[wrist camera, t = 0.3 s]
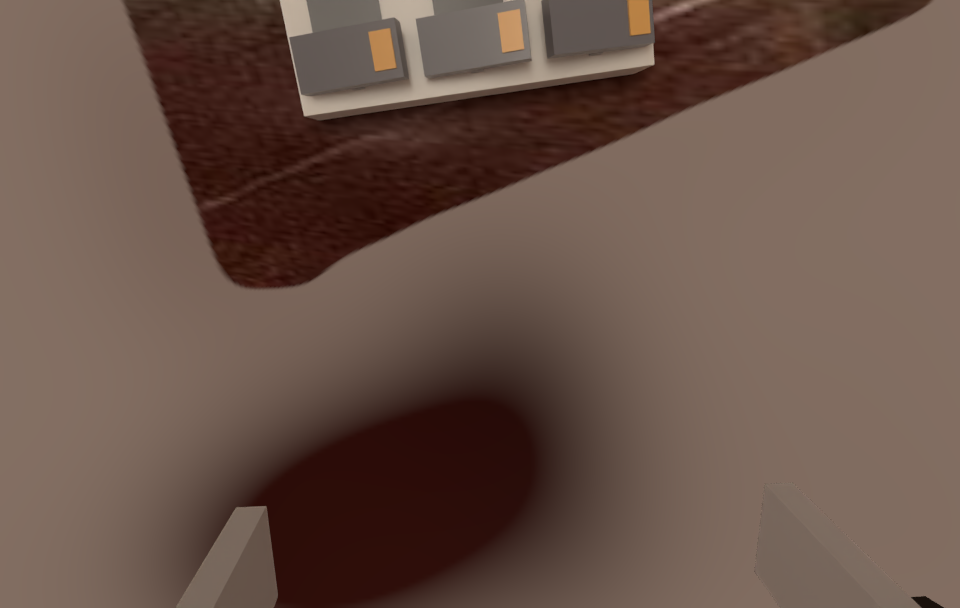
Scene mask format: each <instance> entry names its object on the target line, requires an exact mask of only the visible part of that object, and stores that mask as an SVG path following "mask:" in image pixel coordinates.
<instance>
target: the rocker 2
mask: <svg viewBox="0 0 960 608" xmlns="http://www.w3.org/2000/svg"><path fill="white" fill-rule="evenodd" d="M416 25H417V31H418V37H419V44H420V50H421V56H422V63H423V69H424V75H425V77H427V78H429V79H431V78H436V77H442V76H448V75H454V74H460V73H466V72H471V71H477V70H483V69H489V68H495V67H500V66H506V65H512V64H518V63H524V62H530V61H532V57H531V49H530V40H529V31H528V22H527V13H526V4H525V0H513V1H507V2H502V3H497V4H491V5H486V6H481V7H476V8H470V9H465V10H460V11H455V12H449V13H444V14H439V15H433V16H428V17H423V18H418V19H416Z"/></svg>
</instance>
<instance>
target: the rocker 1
mask: <svg viewBox="0 0 960 608" xmlns="http://www.w3.org/2000/svg"><path fill="white" fill-rule="evenodd" d="M289 39H290V44H291V49H292V53H293V58H294V63H295V68H296V72H297V77H298V82H299V87H300V92H301V95H305V96H315V95H320V94H326V93H332V92H338V91H344V90H349V89H355V88H361V87H367V86H372V85H378V84H384V83H390V82H396V81H401V80H407V79H409V74H408V68H407V62H406V56H405V50H404V44H403V38H402V31H401V25H400V21H398V20H397V19H396V18H394V17H393V18H388V19H383V20H377V21H372V22H367V23H362V24H357V25H351V26H346V27H341V28H336V29H330V30H325V31H320V32H315V33H309V34H304V35H299V36H294V37H289Z"/></svg>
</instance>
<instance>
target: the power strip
mask: <svg viewBox="0 0 960 608" xmlns="http://www.w3.org/2000/svg"><path fill="white" fill-rule="evenodd" d="M507 1H513V0H280V3H281V8H282V13H283V18H284V23H285V27H286V32H287V37H288V42H289V46H290V51H291V56H292V61H293V66H294V70H295V75H296V80H297V85H298V89H299V94H300V99H301V104H302V108H303V113H304V116H305V117H308V118H312V119H316V120H326V119H332V118H339V117H346V116H353V115H359V114H366V113H373V112H380V111H387V110H393V109H400V108H407V107H414V106H420V105H427V104H434V103H441V102H448V101H454V100H461V99H468V98H475V97H481V96H488V95H495V94H502V93H508V92H515V91H522V90H529V89H536V88H542V87H549V86H556V85H563V84H569V83H576V82H583V81H590V80H597V79H603V78H610V77H617V76H624V75H630V74H635V73H637V72H639V71H642V70H644V69H646V68H648V67H650V66H652V65H654V50H653V44H650V45H648V46H646V47H641V48H632V49H624V50H616V51H608V52H599V53H591V54H583V55H575V56H566V57H558V58H550V59H547V51H546V42H545V32H544V23H543V14H542V4H541V1H542V0H525V4H526V13H527V22H528V31H529V40H530V49H531V57H532V61H530V62H524V63H518V64H512V65H506V66H500V67H495V68H489V69H483V70H477V71H471V72H466V73H460V74H454V75H448V76H442V77H436V78H431V79H429V78H427V77H425V75H424V69H423V63H422V56H421V50H420V44H419V37H418V31H417V25H416V19H418V18H423V17H428V16H433V15H439V14H444V13H449V12H455V11H460V10H465V9H470V8H476V7H481V6H486V5H491V4H497V3H502V2H507ZM393 17H394V18H396V19H397V20H398V21H400V25H401V31H402V38H403V44H404V50H405V56H406V62H407V68H408V74H409V79H407V80H401V81H396V82H390V83H384V84H378V85H372V86H367V87H361V88H355V89H349V90H344V91H338V92H332V93H326V94H320V95H315V96H305V95H301V92H300V87H299V82H298V77H297V72H296V68H295V63H294V58H293V53H292V49H291V44H290V39H289V37H294V36H299V35H304V34H309V33H315V32H320V31H325V30H330V29H336V28H341V27H346V26H351V25H357V24H362V23H367V22H372V21H377V20H383V19H388V18H393Z"/></svg>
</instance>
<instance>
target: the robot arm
mask: <svg viewBox="0 0 960 608" xmlns="http://www.w3.org/2000/svg"><path fill="white" fill-rule="evenodd" d="M755 573H756V575H757V576H758V577H759V579H760V580H761V581H762V583H763V584H764V586H765V587H766V588H767V590H768V591H769V593H770V594H771V595H772V597H773V598H774V600H775V601H776V602H777V604H778V605H779V607H780V608H944V607H942V606H940V605H939V604H937V603H935V602H934V601H932V600H930V599H929V598H927V597H926V596H923V597H910V596H909V595H908V594H907V593H906V592H905V591H904V590H903V589H902V588H901V587H900V586H899V585H897V583H895V582H894V581H893V580H892V579H891V578H890V577H889V576H888V575H887V574H886V573H885V572H884V571H883V570H882V569H881V568H880V567H879V566H878V565H877V564H876V563H875V562H874V561H873V560H872V559H871V558H870V557H869V556H868V555H867V554H866V553H865V552H864V551H863V550H861V548H859V547H858V546H857V545H856V544H855V543H854V542H853V541H852V540H851V539H850V538H849V537H848V536H847V535H846V534H845V533H844V532H843V531H842V530H841V529H840V528H839V527H838V526H837V525H836V524H835V523H834V522H833V521H832V520H831V519H830V518H829V517H828V516H826V515H825V514H824V513H823V512H822V511H821V510H820V509H819V508H818V507H817V506H816V505H815V504H814V503H813V502H812V501H811V500H810V499H809V498H808V497H807V496H806V495H805V494H804V493H803V492H802V491H801V490H800V489H799V488H798V487H796V485H795V484H794V483H778V484H765V487H764V495H763V504H762V513H761V521H760V529H759V537H758V546H757V554H756V563H755ZM277 597H278V594H277V585H276V577H275V569H274V562H273V554H272V546H271V538H270V531H269V523H268V515H267V507H266V506H261V507H237V508H236V509H235V510H234V512H233V514H232V515H231V517H230V519H229V520H228V522H227V524H226V525H225V527H224V529H223V530H222V532H221V533H220V535H219V537H218V539H217V540H216V542H215V544H214V545H213V547H212V548H211V550H210V552H209V553H208V555H207V557H206V558H205V560H204V562H203V564H202V565H201V567H200V568H199V570H198V571H197V573H196V575H195V576H194V578H193V580H192V581H191V583H190V585H189V587H188V588H187V590H186V591H185V593H184V595H183V596H182V598H181V600H180V602H179V603H178V605H177V606H176V608H273V607H274V605H275V602H276V599H277Z"/></svg>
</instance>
